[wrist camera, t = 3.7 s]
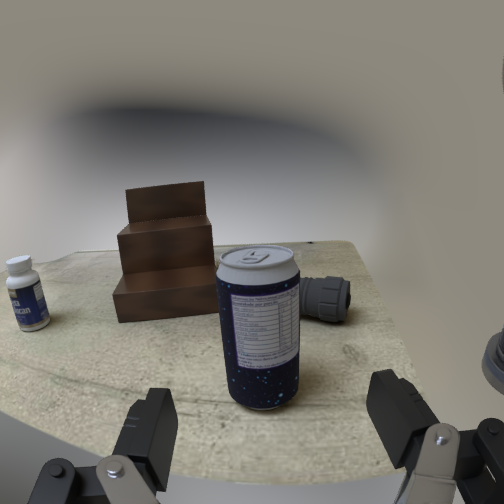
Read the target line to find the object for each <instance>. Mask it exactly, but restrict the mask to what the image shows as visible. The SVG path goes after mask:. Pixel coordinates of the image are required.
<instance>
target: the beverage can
mask: <svg viewBox="0 0 504 504" xmlns="http://www.w3.org/2000/svg"><path fill="white" fill-rule="evenodd" d="M293 258H294V253H293V251H292V250H290V249H288V248H286V247H281V246H274V245H251V246H243V247H238V248H234V249H230V250H228V251H225V252H224V253H222V254H221V255H220V261H221V263H220V266H219V268H218V270H217V273H216V287H217V297H218V306H219V315H220V324H221V333H222V342H223V350H224V358H225V367H226V374H227V382H228V390H229V393H230V395H231V397H232V398H233V399H234V400H235V401H236V402H238V403H240V404H242V405H244V406H247V407H249V408H252V409H255V410H270V409H274V408H277V407H279V406H281V405H282V404H284V403H286V402H288V401H289V400H291V399H292V398H293V397H294V396H295V394H296V393H297V390H298V384H299V350H300V270H299V268H298V266H297V264H296V262H295V261H294V259H293Z"/></svg>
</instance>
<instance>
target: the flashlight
mask: <svg viewBox="0 0 504 504" xmlns="http://www.w3.org/2000/svg"><path fill="white" fill-rule="evenodd" d="M350 300H351V295H350V281H345V280H344V279H343V278H341V277H331V276H327V277H326V278H325V279H324V278H316V279H313V278H308V277H305V278H300V314H301V315H303V314H305V315H309V314H310V315H311V316H313V317H319V318H320V319H321V320H323V321H330V322H338V321H339V320H345V319H346V315H347V311H348V308H349V306H350Z"/></svg>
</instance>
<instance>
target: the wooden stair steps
mask: <svg viewBox="0 0 504 504" xmlns="http://www.w3.org/2000/svg"><path fill="white" fill-rule="evenodd" d="M126 201H127V210H128V219H129V224H128V225H127V226H126V227H125V228H124V229H123V230H122V231H121V232H120V233H119V234H118V235H117V239H118V246H119V252H120V259H121V264H122V270H123V276H122V278H121V280H120V281H119V283H118V285H117V287H116V289H115V291H114V293H113V294H112V295H113V300H114V304H115V309H116V313H117V317H118V321H119V323H121V322H133V321H144V320H155V319H164V318H174V317H183V316H192V315H200V314H209V313H217V312H219V306H218V297H217V287H216V273H217V269H216V266H215V260H214V249H213V237H212V225H211V223H210V221H209V219H208V217H207V215H206V204H205V190H204V181H199V182H188V183H179V184H169V185H160V186H151V187H143V188H135V189H127V190H126ZM200 215H201V216H200ZM190 216H191V217H190ZM181 217H182V218H181ZM171 218H172V219H171ZM162 219H163V220H162ZM153 220H154V221H153ZM145 221H146V222H145Z"/></svg>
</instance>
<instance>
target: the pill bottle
mask: <svg viewBox="0 0 504 504" xmlns="http://www.w3.org/2000/svg"><path fill="white" fill-rule="evenodd" d="M6 266H7V271H8V273H10V276H9V277H8V279H7V281H6V284H7V288H8V292H9V296H10V299H11V303H12V306H13V309H14V313H15V316H16V319H17V322H18V325H19V327H20V329H21V330H23V331H35V330H38V329H41V328H43V327H44V326H46V325H47V324H48V323H49V321H50V316H49V312H48V308H47V305H46V301H45V297H44V294H43V290H42V286H41V281H40V277H39V274H38V272H37V271H35V270H32V269H31V267H32V262H31V258H30V256H29V255H24V256H19V257H15V258H12V259H10V260H8V261H7V262H6Z"/></svg>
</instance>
